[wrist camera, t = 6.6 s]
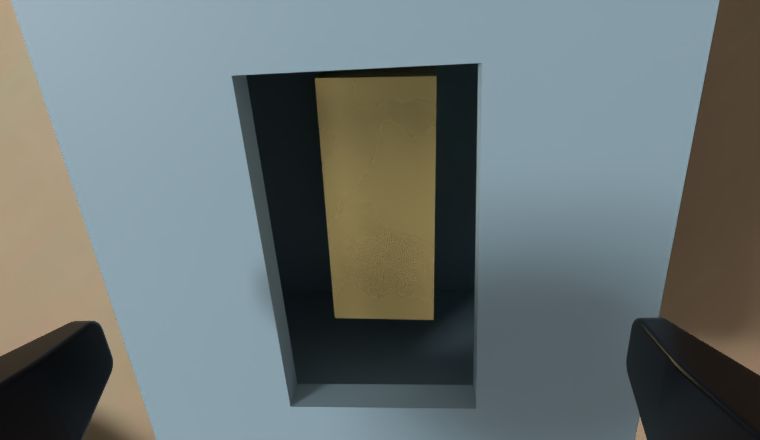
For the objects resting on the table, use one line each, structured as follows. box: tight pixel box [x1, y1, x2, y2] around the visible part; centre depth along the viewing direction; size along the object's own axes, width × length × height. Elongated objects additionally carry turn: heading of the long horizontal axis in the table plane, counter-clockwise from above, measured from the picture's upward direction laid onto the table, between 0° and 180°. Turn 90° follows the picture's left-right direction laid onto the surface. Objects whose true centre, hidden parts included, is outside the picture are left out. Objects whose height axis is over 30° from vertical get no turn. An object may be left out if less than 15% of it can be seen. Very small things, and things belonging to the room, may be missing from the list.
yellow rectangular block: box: [315, 65, 437, 320], centre depth 15 cm, size 6×2×5 cm, turn 2°
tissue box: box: [11, 0, 719, 440], centre depth 14 cm, size 12×12×7 cm
